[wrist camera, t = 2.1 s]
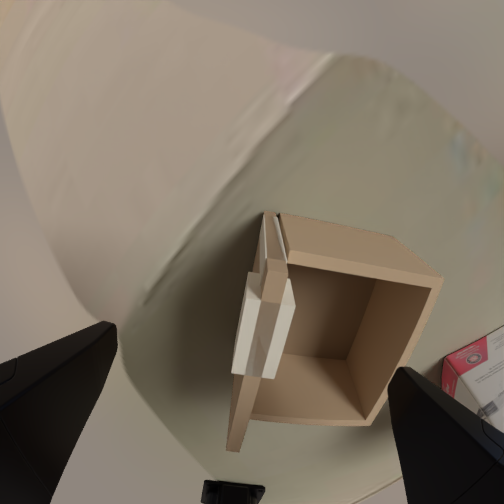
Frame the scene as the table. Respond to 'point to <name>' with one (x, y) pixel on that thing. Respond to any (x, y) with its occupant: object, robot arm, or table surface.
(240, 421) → the end flap
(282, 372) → the carton
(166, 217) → the table surface
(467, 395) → the ink box
